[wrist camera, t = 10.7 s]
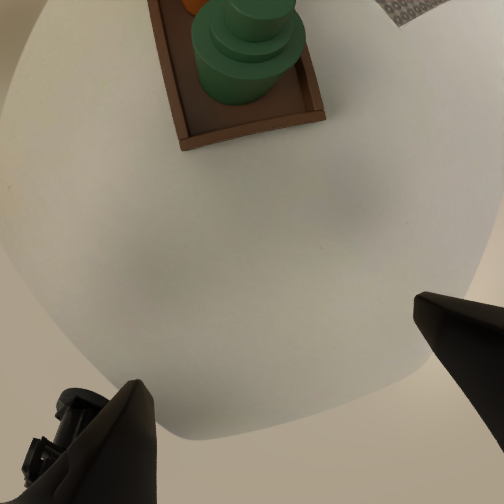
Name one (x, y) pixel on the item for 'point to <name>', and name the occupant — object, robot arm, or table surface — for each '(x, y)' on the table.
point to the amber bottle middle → (193, 5)
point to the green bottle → (245, 47)
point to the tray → (217, 114)
